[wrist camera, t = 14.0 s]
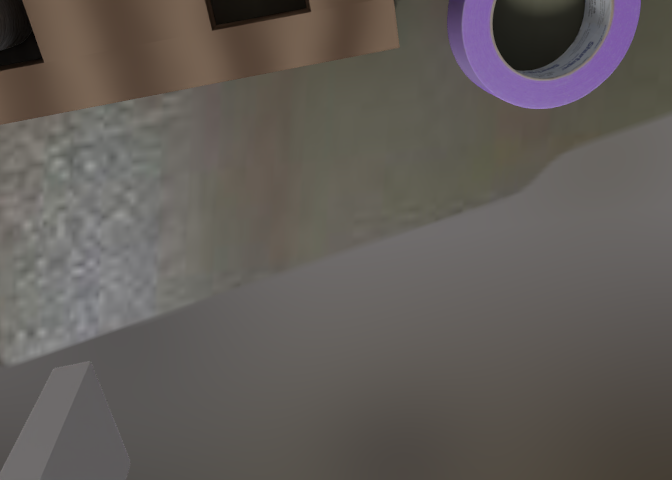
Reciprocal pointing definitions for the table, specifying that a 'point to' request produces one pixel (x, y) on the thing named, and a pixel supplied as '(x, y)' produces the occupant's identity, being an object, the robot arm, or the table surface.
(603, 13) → the masking tape
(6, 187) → the table surface
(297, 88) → the table surface
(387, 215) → the table surface
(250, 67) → the brown block with holes
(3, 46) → the steel pin
